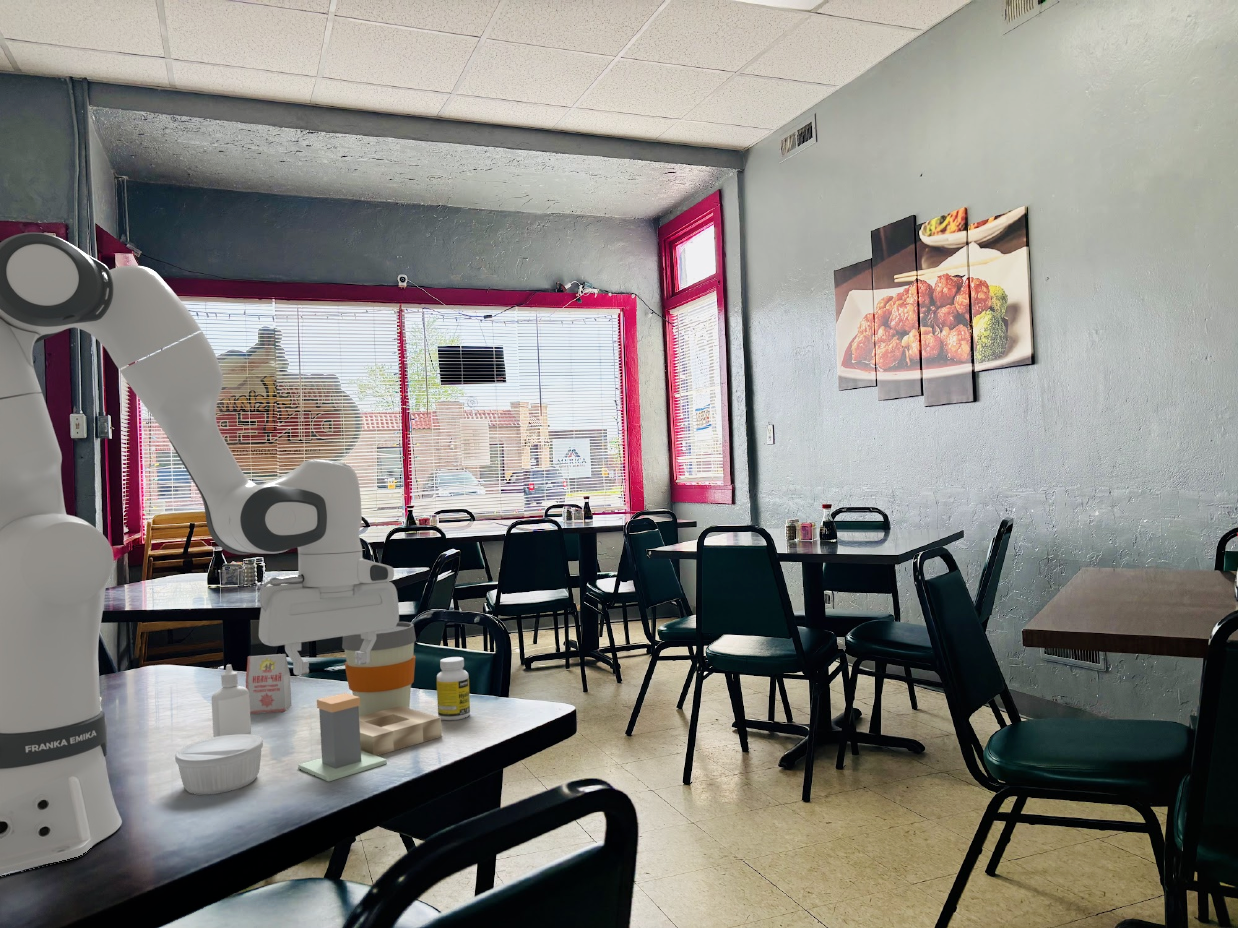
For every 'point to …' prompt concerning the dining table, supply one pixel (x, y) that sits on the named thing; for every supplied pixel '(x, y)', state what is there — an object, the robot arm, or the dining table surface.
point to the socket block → (396, 729)
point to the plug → (340, 730)
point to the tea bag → (268, 683)
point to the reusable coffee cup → (382, 669)
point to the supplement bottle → (453, 689)
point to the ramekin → (220, 763)
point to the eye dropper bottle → (231, 707)
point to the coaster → (331, 773)
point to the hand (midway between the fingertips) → (332, 668)
